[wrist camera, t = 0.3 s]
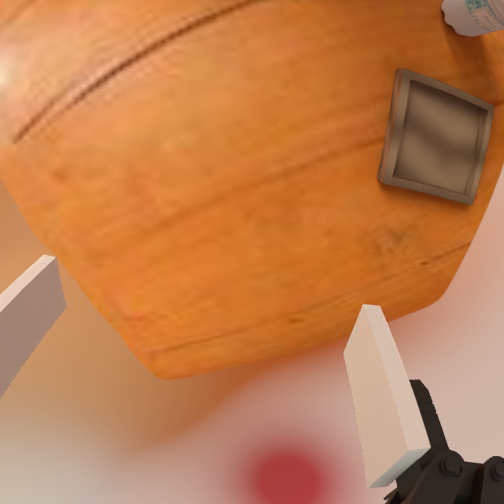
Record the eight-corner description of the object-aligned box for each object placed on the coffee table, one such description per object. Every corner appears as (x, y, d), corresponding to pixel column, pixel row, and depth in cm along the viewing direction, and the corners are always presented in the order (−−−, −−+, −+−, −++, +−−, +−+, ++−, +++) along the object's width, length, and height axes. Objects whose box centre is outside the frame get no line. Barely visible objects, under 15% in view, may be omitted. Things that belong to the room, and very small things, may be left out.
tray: (396, 69, 30) (403, 68, 28) (484, 104, 30) (494, 106, 28) (376, 178, 36) (382, 183, 34) (463, 199, 36) (472, 205, 34)
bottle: (433, 26, 26) (538, -3, 9) (436, -14, 23) (530, -57, 6) (474, 47, 27) (583, 42, 9) (477, 8, 24) (577, -13, 6)
